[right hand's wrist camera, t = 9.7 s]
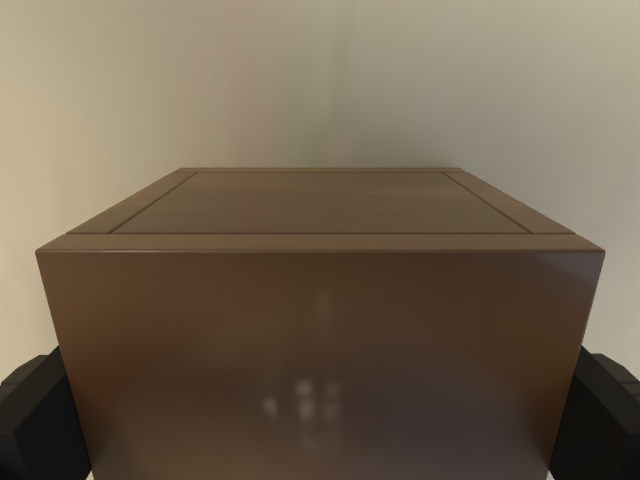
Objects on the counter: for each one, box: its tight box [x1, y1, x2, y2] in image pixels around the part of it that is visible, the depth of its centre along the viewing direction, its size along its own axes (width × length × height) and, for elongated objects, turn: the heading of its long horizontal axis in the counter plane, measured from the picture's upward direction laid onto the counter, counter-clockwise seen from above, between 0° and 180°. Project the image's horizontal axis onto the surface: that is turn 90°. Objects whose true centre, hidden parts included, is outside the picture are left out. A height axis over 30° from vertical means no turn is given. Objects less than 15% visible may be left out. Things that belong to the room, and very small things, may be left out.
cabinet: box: [35, 168, 605, 480], centre depth 15 cm, size 19×11×8 cm, turn 0°
